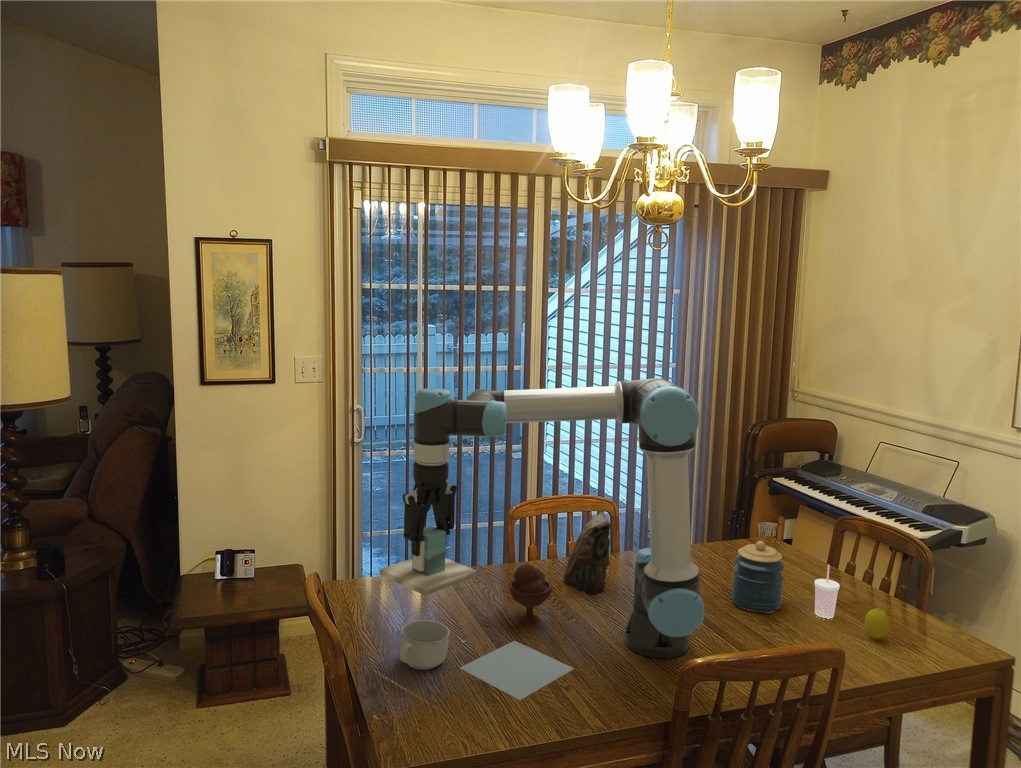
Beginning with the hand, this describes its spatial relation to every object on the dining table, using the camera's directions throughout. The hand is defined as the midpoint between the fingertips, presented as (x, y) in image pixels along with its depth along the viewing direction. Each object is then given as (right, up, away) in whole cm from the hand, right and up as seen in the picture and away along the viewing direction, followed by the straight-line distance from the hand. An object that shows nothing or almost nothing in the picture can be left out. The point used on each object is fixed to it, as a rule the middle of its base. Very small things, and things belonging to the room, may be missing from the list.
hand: (428, 565), depth 165 cm
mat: (+19, -24, +3) cm, 31 cm away
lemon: (+108, -24, +22) cm, 112 cm away
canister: (+84, -20, +41) cm, 96 cm away
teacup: (-2, -23, +4) cm, 24 cm away
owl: (+39, -18, +51) cm, 66 cm away
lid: (0, -2, 0) cm, 2 cm away
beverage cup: (+100, -22, +34) cm, 108 cm away
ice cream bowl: (+22, -21, +27) cm, 41 cm away
